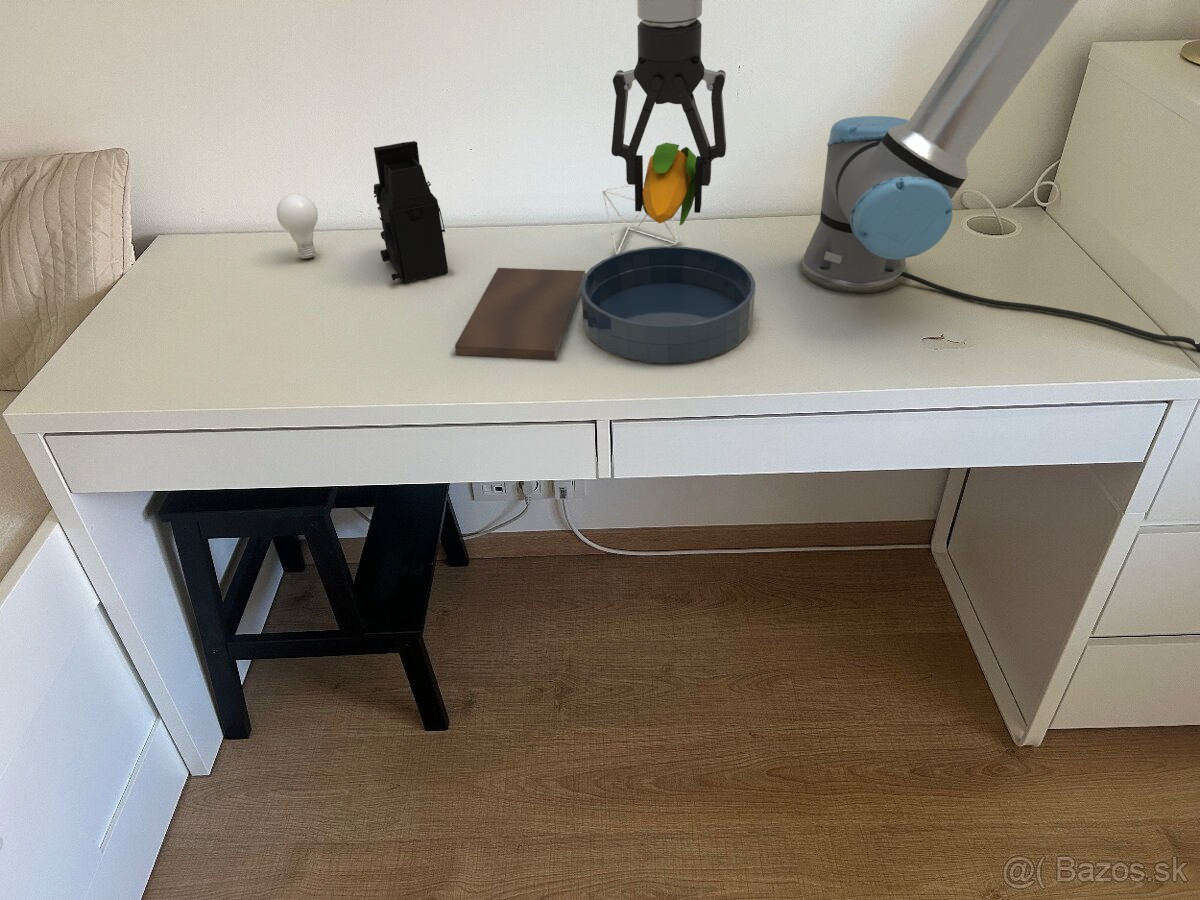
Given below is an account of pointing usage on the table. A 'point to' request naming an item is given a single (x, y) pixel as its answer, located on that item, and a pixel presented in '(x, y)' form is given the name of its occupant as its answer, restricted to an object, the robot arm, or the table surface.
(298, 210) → the lightbulb
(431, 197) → the camera
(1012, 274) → the table surface
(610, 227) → the geometric polyhedron
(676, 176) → the corn
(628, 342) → the bowl
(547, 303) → the walnut board
